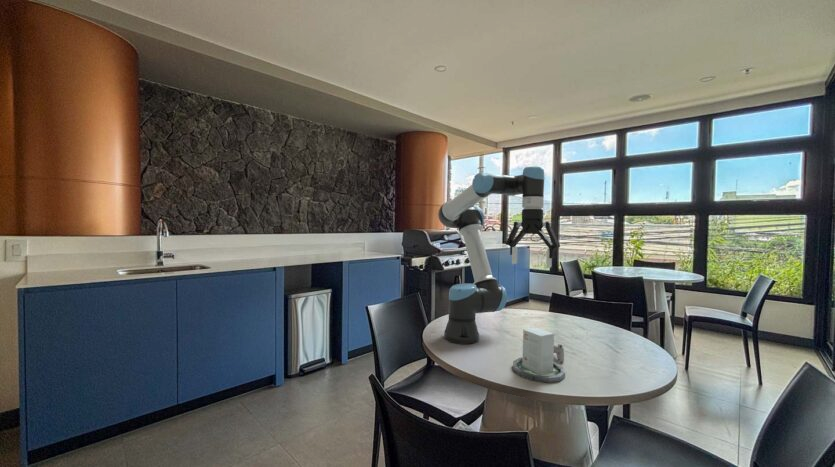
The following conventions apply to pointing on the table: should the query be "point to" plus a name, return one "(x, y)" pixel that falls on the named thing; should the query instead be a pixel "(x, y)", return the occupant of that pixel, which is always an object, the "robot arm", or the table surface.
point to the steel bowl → (549, 377)
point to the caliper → (559, 352)
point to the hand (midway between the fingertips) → (530, 265)
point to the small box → (538, 350)
